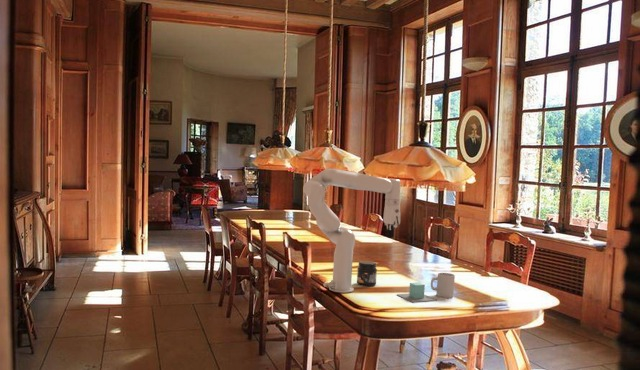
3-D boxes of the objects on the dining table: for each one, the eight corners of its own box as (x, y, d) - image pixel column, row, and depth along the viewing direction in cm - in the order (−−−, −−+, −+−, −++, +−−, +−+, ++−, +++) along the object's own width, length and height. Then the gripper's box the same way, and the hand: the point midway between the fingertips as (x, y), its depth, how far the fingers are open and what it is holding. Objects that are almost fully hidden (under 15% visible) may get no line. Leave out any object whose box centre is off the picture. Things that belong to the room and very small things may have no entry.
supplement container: (353, 282, 291) (354, 260, 291) (370, 282, 295) (372, 260, 294) (361, 287, 281) (362, 264, 281) (379, 286, 285) (380, 264, 285)
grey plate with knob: (412, 302, 255) (413, 290, 255) (396, 295, 268) (397, 283, 268) (436, 300, 261) (437, 288, 261) (420, 293, 274) (420, 281, 274)
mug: (450, 293, 277) (451, 272, 276) (456, 298, 268) (457, 276, 268) (427, 293, 276) (428, 272, 275) (432, 297, 267) (434, 275, 267)
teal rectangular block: (415, 298, 261) (415, 285, 261) (409, 296, 266) (409, 282, 266) (423, 298, 263) (424, 284, 263) (417, 295, 268) (418, 282, 268)
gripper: (406, 204, 275) (404, 239, 275) (390, 201, 288) (388, 235, 289) (393, 203, 271) (391, 239, 272) (378, 201, 285) (376, 235, 286)
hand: (390, 237), depth 281 cm, fingers closed
